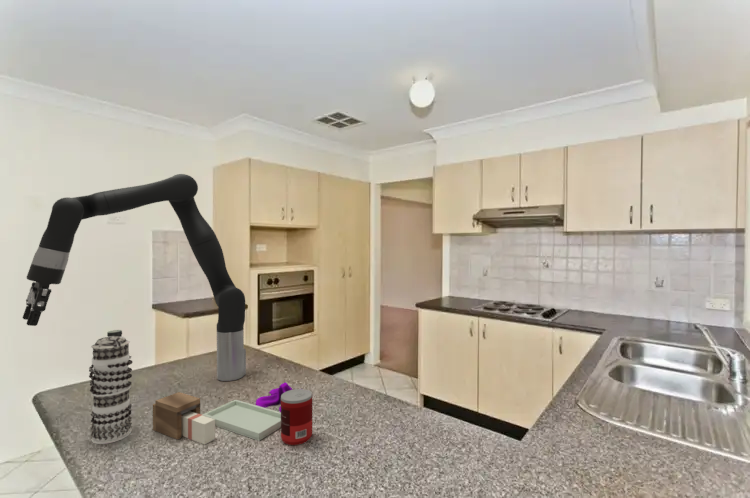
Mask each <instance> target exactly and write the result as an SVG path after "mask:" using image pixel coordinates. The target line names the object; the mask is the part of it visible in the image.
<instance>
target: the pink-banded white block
mask: <svg viewBox="0 0 750 498" xmlns="http://www.w3.org/2000/svg"><path fill="white" fill-rule="evenodd" d="M202 414H203V413H202ZM202 414H201V413H200V414H197V413H194V412H191V411H188V412H186V413H183V414H181V426H182V438H183V437H184V438H187V439H189V440H191V441H194V442H197V443H199V444H201V445H207V444H208V443H210V442H212V441H215V439H216V426H215V419H212V418H209V417H206V416H203V415H202Z"/></svg>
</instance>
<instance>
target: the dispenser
mask: <svg viewBox="0 0 750 498" xmlns="http://www.w3.org/2000/svg"><path fill="white" fill-rule="evenodd" d="M154 401H155V402H154V403H153V404H152V430H153V431H154V432H158V433H160V434H162V435H165V436H167V437H170V438H172V439H174V440H180V439H181V438H183V436H182V426H181V414H183V413H186V412H188V411H191V412H194V413H197V414H201V398H200V397H197V396H194V395H189V394H186V393H184V392H180V391H177V392H175V393H173V394H170V395H167V396H165V397H161V398H159V399H156V400H154Z"/></svg>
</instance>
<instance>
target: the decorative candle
mask: <svg viewBox="0 0 750 498" xmlns="http://www.w3.org/2000/svg"><path fill="white" fill-rule="evenodd" d="M130 342H131V341H129V340H127V339H126V337H124V336H110V337H108V336H103V337H101V338H98V339H97V340H96V342H94V344H93V345H91V346H90V348H92V355H93V356H92V357H91V366H89V368H88V369H89V370H88V372H89V375H88V378H89V379H91V380H90V381H89V383H90V384H89V386H90V388H89V392H90V395H91V396H92V397H93V399H92V401H93V404H92V408H91V409H92V411H91V413H90V416H91V419H90V423H92V424H91V426H90V430H91V433H90V436H91V437H92V438H91V443H93V444H95V445H107V444H111V443H116V442H119V441H121V440H123V439H125V438H127V437H128V436H130V435H131V434H132V419H133V417H132V416H131V415H132V410H131V409H132V404H131V397H130V389H131V387H132V382H131V381H129V379H131V378H132V377H133V374H132V373H131V372H132V371H133V369H132V367H129V365H132V364H133V360H131V358H132V355H130V351H129V344H130Z"/></svg>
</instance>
